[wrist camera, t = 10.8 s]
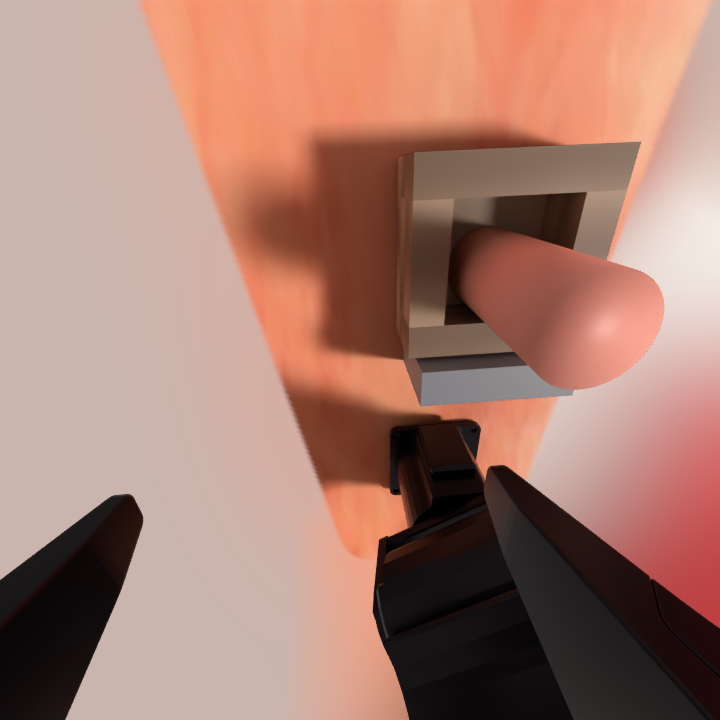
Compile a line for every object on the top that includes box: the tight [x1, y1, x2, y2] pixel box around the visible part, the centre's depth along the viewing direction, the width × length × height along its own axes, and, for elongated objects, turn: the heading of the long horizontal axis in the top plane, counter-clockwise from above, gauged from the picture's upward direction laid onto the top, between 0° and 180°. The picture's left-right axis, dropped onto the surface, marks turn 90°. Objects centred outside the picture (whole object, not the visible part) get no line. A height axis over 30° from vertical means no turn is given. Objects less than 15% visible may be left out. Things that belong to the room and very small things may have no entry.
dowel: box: [448, 226, 664, 390], centre depth 14 cm, size 4×4×9 cm
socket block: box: [396, 142, 641, 359], centre depth 17 cm, size 9×9×4 cm
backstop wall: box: [404, 349, 573, 406], centre depth 20 cm, size 2×8×5 cm, turn 92°
